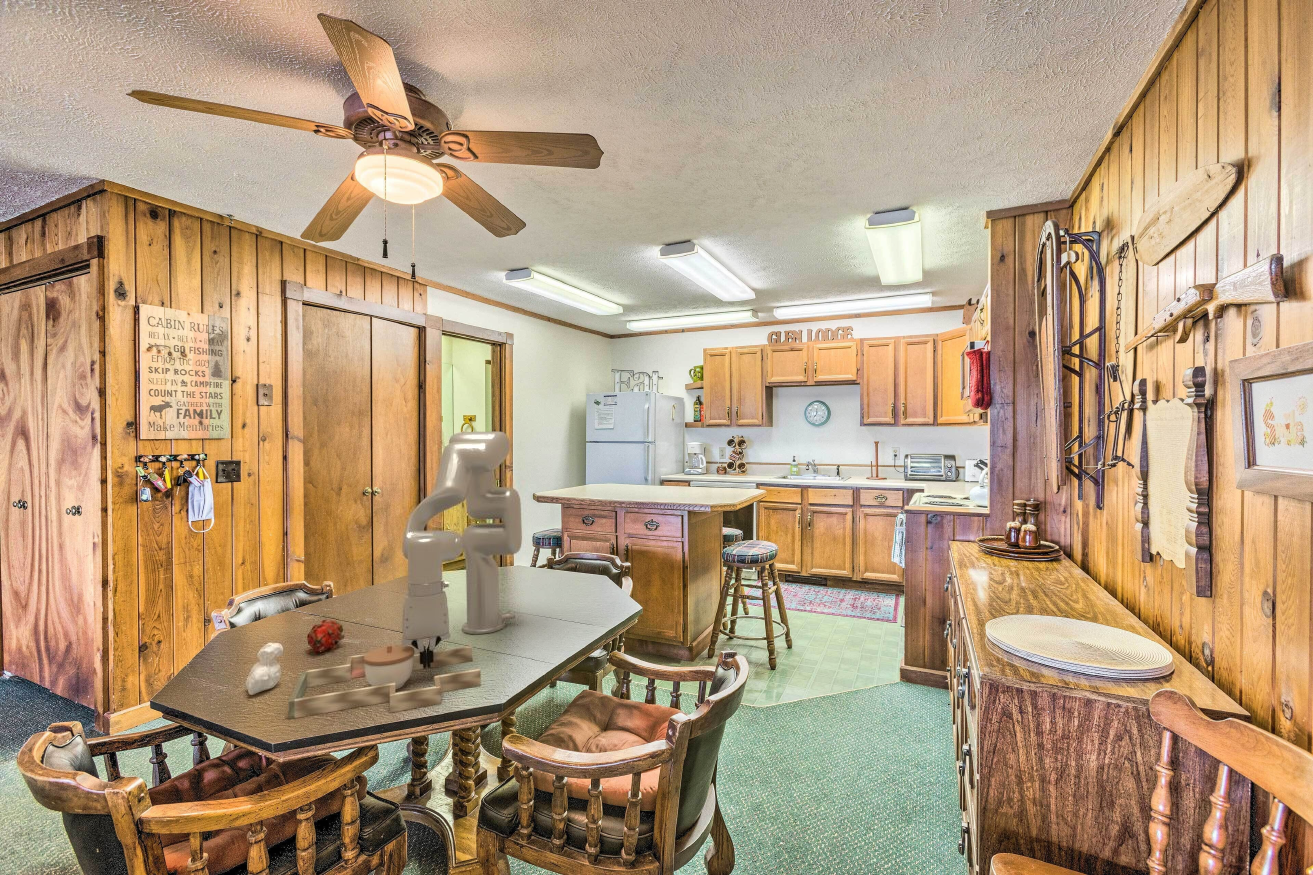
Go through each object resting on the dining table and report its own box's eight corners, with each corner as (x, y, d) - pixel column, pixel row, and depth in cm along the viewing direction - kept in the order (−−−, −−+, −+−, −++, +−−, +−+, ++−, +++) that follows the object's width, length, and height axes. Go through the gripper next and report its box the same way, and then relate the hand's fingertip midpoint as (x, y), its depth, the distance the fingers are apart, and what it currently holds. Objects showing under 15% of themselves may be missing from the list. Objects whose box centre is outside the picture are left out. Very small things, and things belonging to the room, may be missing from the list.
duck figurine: (260, 707, 132) (295, 662, 135) (227, 692, 130) (263, 646, 132) (270, 687, 143) (302, 646, 146) (240, 672, 140) (273, 631, 143)
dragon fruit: (338, 646, 169) (320, 668, 158) (311, 631, 168) (291, 652, 156) (355, 623, 169) (338, 643, 157) (328, 607, 168) (309, 626, 156)
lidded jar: (381, 700, 129) (380, 657, 130) (354, 689, 135) (354, 648, 136) (424, 682, 138) (423, 642, 138) (397, 673, 144) (397, 635, 144)
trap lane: (469, 652, 158) (469, 639, 158) (484, 695, 131) (483, 679, 131) (306, 677, 143) (306, 662, 143) (283, 731, 116) (283, 713, 116)
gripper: (457, 581, 147) (458, 656, 146) (391, 588, 141) (392, 666, 140) (460, 588, 140) (461, 666, 140) (390, 596, 134) (392, 677, 133)
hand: (426, 666), depth 140 cm, fingers closed
